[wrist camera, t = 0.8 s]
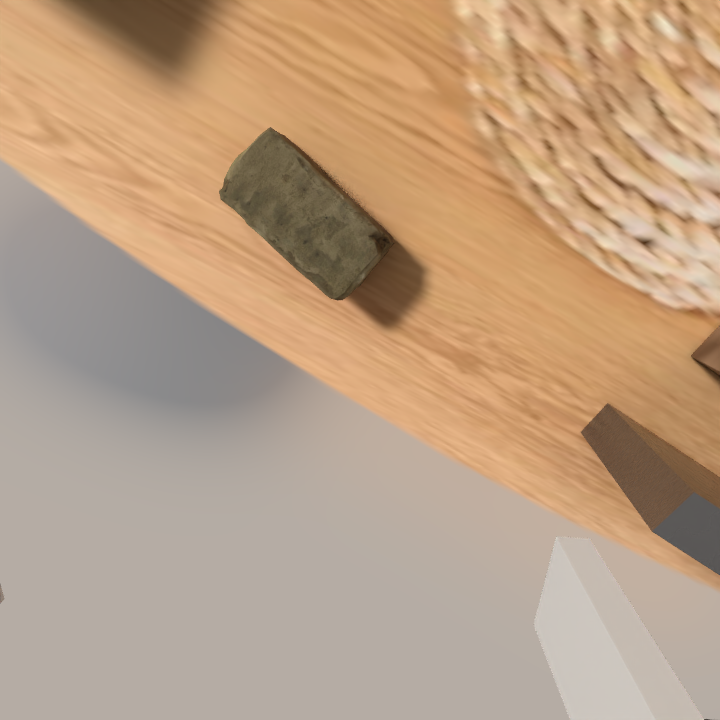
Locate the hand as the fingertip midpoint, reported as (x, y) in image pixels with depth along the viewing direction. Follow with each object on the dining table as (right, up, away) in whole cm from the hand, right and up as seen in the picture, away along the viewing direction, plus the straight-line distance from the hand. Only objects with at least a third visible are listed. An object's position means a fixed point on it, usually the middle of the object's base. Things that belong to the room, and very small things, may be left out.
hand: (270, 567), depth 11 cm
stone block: (-1, +15, +24) cm, 28 cm away
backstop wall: (+28, -4, +25) cm, 38 cm away
